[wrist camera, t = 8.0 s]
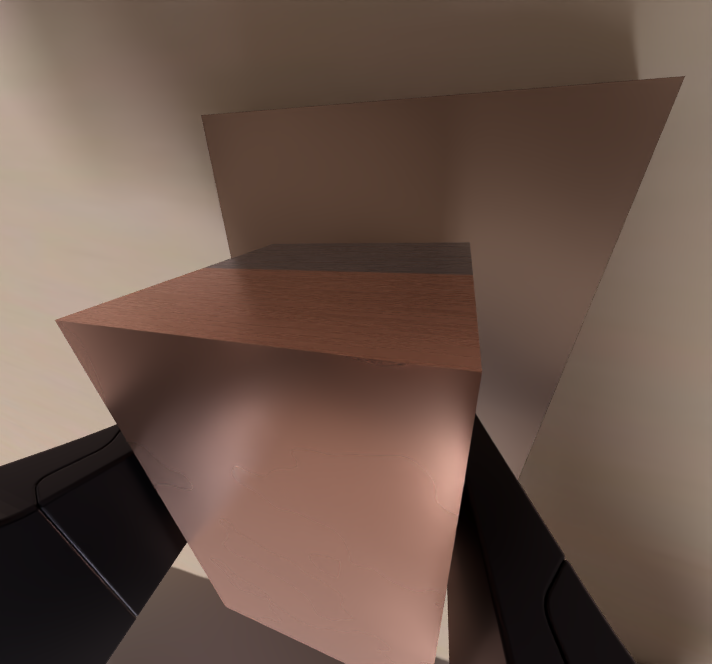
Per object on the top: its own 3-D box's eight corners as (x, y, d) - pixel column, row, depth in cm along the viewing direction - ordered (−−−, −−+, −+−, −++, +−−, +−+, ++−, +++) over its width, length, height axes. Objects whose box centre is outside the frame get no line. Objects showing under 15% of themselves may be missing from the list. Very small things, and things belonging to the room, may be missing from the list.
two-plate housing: (469, 242, 6) (481, 371, 2) (442, 481, 10) (428, 703, 6) (273, 243, 8) (55, 320, 4) (312, 449, 11) (225, 606, 7)
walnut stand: (498, 484, 13) (502, 517, 12) (286, 428, 16) (271, 449, 15) (642, 95, 6) (685, 76, 5) (235, 123, 10) (201, 115, 8)
